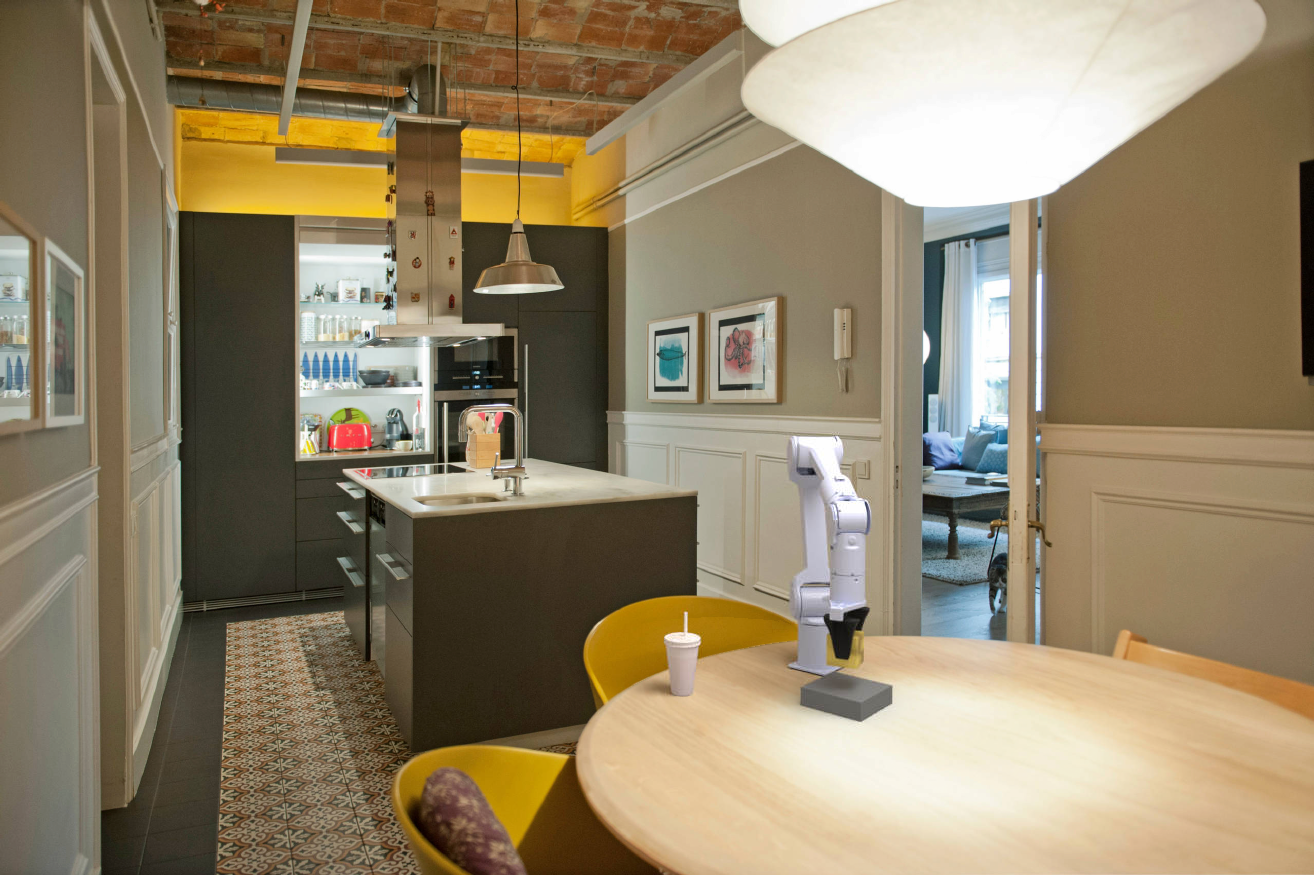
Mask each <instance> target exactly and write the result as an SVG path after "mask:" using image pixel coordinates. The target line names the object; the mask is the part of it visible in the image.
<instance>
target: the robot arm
mask: <svg viewBox="0 0 1314 875" xmlns="http://www.w3.org/2000/svg"><path fill="white" fill-rule="evenodd" d="M786 459H787V460H786V462H787V465H786V466H787V475H788V479H789V481H791V482H793V483H794V484H796V485H797V490H798V494H799V506H800V507H799V508H800V510H799V511H800V524H801V525H800V526H801V527H800V528H801V542H802V558H803V559H802V560H803V569H802V570H800V571H799V572H798V573H797V574H795V575H794V576H793V577H792V578H791V581H790V583H789V588H790V589H789V600H788V601H789V602H788V603H789V611H790V615H791V616H792V617H793V618H794V620H797V660H796V661H794V662H791V663H789V664H788V665H787V666H788V668H792V669H795V670H799V671H804V672H808V673H811V674H814V675H815V674H816V675H819V676H825V675H827V674H830V673H832V672H837V671H838V670H840V669H843V667H836V666H829V665H826V636H827V634H828V633H830V636H831V640H832V644H833V649H834V654H835V657H836V658H837V659H844V660H848V659H849V657H850V653H851V647H852V640H853V636H854V632H855V631H863V627H864V624H865V622H866V619H867V617H868V615H869V614H870V610H871V608H870V607H868V606H866V605H867V598H866V553H867V552H866V548H867V547H866V545H867V543H866V542H867V540H866V538H867V537H866V536H868V535H869V534H870V532H871V527H872V511H871V506H870V505H869V501H868V500H867V499H863V498H861V497H858V495H857V492H856V491H855V488H854V486H853V484H852V482H851V480H850V478H849V477H848V476H846V475H844V474H842V472H841V468H840V467H841V465H842V463H843V459H844V447H843V442H842V439H841V438H840V437H839V436H838V435H834V436H795V435H792V436H790V438H789V439H788V441H787V446H786ZM825 510H826V511H825ZM828 545H829V546H830V547H829V549H830V550H829V551H830V553H829V552H828ZM828 554H830V556H829V555H828ZM806 585H807V586H806ZM808 585H809V586H808Z"/></svg>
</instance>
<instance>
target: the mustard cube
mask: <svg viewBox="0 0 1314 875" xmlns="http://www.w3.org/2000/svg"><path fill="white" fill-rule="evenodd" d="M864 650H865V631H863V630H862V631H855V632H854V636H853V640H852V647H851V653H850V657H849V659H848V660H844V659H837V658H836V657H835V654H834V649H833V644H832V640H831V636H830V633H828V634H827V636H826V665H829V666H836V667H842V668H846V669H852V670H858V669H859V667H860V666H861V665H862V664H863V663H864V661H865V660H864V659H865V658H864V657H865V656H864V655H865V651H864Z"/></svg>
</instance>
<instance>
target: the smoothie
mask: <svg viewBox="0 0 1314 875" xmlns="http://www.w3.org/2000/svg"><path fill="white" fill-rule="evenodd" d="M663 639H664V640H663V643H664V644H665V647H666V648H665V649H666V657H667V664H668V665H667V666H668V675H669V682H670V690H671V691H670V692H671V694H672V695H674V696H678V697H686V696H687V697H688V696H691V695H692V694H693V693H694V686H695V677H696V670H697V665H698V664H697V662H698V655H699V646H700V645H701V643H702V641H701V636H700V635H698V634H695V633H691V632H688V612H687V611H684V612H683V632H680V631H679V632H671V633H668V634H666V635H664V638H663Z"/></svg>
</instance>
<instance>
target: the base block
mask: <svg viewBox="0 0 1314 875" xmlns="http://www.w3.org/2000/svg"><path fill="white" fill-rule="evenodd" d="M892 704H893V685H892V684H888V683H883V682H880V681H875V680H872V679H868V678H867V679H866V678H862V677H859V676H855V675H850V674H846V673H841V672H838V671H834V672H831V673H829V674H827V675H822V676H821V677H819V678H816V679H814V680H812V681H810V682H809V683H806V684H804V685H802V686H800V706H802V707H805V708H808V709H812V710H817V711H819V712H823V713H827V714H831V715H835V716H837V717H842V718H845V719H847V720H848V719H849V720H851V721H852V720H853V721H856V722H858V723H859V722H860V723H862V722H863V721H865V720H867V719H868V718H870V717H872V716H873V714H874V715H875V714H878V713H879V712H881V711H882V710H884V709H885V707H886V708H888V707H889V706H891V705H892ZM880 710H881V711H880ZM878 711H879V712H878Z"/></svg>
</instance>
